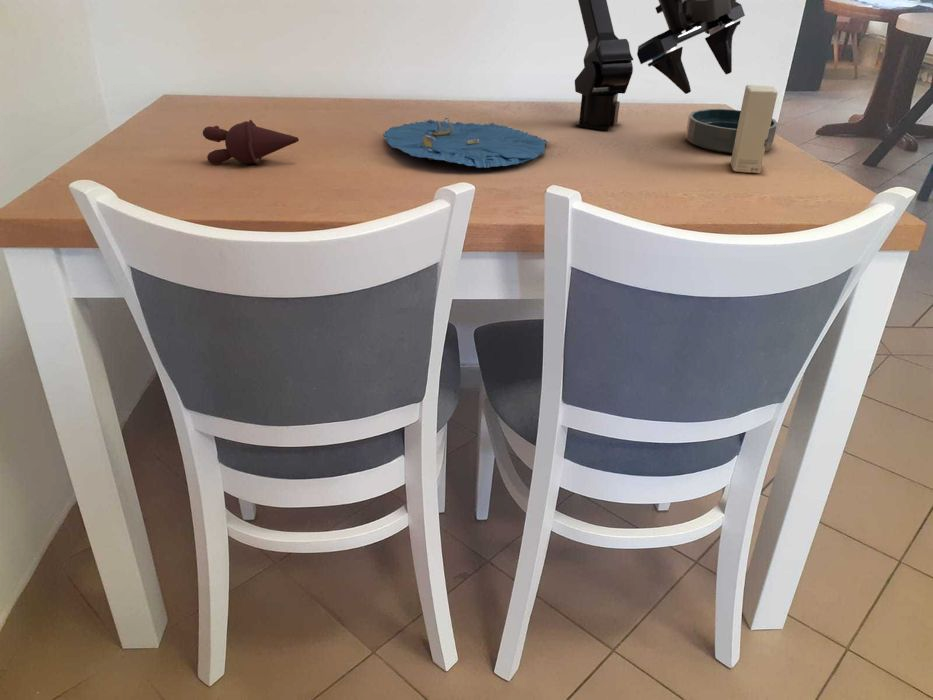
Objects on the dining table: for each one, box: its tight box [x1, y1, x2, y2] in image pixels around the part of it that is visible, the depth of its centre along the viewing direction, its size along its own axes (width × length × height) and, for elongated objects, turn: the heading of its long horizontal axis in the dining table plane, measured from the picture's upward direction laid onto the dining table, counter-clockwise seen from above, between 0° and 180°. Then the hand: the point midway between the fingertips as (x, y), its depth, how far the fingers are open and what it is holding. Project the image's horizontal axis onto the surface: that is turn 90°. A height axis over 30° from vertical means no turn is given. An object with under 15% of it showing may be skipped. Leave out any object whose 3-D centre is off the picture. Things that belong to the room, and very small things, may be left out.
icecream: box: [202, 119, 300, 165], centre depth 117 cm, size 7×7×15 cm
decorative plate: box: [382, 116, 548, 169], centre depth 128 cm, size 30×30×5 cm
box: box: [730, 84, 779, 174], centre depth 119 cm, size 5×4×13 cm
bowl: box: [684, 108, 779, 154], centre depth 134 cm, size 15×15×4 cm
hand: (708, 83), depth 122 cm, fingers open, 9 cm apart
